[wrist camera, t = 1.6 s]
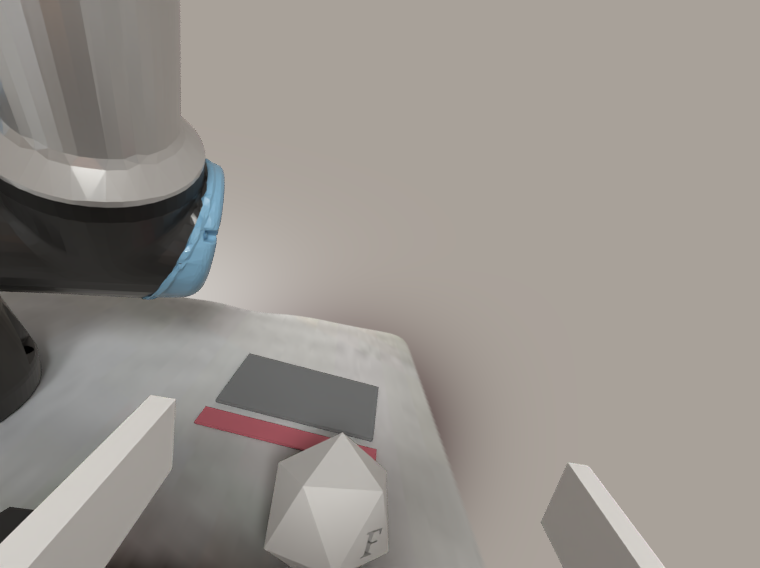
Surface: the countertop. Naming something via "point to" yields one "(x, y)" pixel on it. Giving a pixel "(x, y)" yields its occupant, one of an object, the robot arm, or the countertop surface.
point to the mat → (303, 396)
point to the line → (263, 430)
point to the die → (329, 507)
